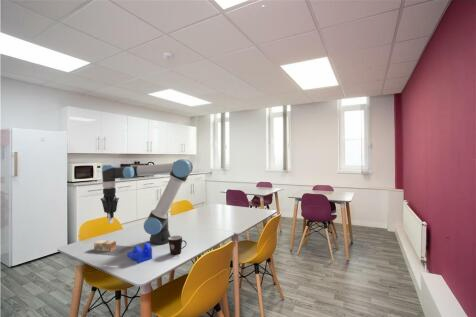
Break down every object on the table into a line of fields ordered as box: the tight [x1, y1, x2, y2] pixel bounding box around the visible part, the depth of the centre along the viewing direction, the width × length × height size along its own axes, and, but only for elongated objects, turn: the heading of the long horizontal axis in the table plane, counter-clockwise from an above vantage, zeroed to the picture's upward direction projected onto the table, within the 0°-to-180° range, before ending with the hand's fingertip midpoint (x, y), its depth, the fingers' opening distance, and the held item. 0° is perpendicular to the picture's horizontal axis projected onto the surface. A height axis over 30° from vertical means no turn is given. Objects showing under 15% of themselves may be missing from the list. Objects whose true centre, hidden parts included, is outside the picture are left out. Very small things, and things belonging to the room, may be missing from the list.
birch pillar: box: [93, 239, 117, 251], centre depth 159 cm, size 5×5×13 cm
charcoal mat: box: [86, 244, 133, 257], centre depth 158 cm, size 24×16×1 cm, turn 76°
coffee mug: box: [168, 235, 188, 256], centre depth 149 cm, size 12×9×10 cm
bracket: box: [126, 242, 153, 264], centre depth 146 cm, size 18×8×9 cm, turn 49°
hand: (110, 222), depth 158 cm, fingers closed
